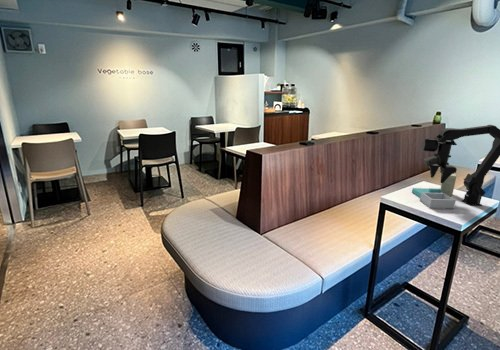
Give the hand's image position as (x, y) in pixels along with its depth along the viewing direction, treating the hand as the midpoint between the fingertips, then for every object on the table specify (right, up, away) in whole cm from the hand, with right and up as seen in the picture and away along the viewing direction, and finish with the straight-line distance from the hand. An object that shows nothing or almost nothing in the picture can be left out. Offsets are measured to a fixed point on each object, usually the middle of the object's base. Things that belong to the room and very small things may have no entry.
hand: (436, 180), depth 156 cm
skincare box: (+12, -8, +11) cm, 19 cm away
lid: (0, -9, +7) cm, 11 cm away
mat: (0, -9, +7) cm, 12 cm away
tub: (-3, -13, -5) cm, 14 cm away
